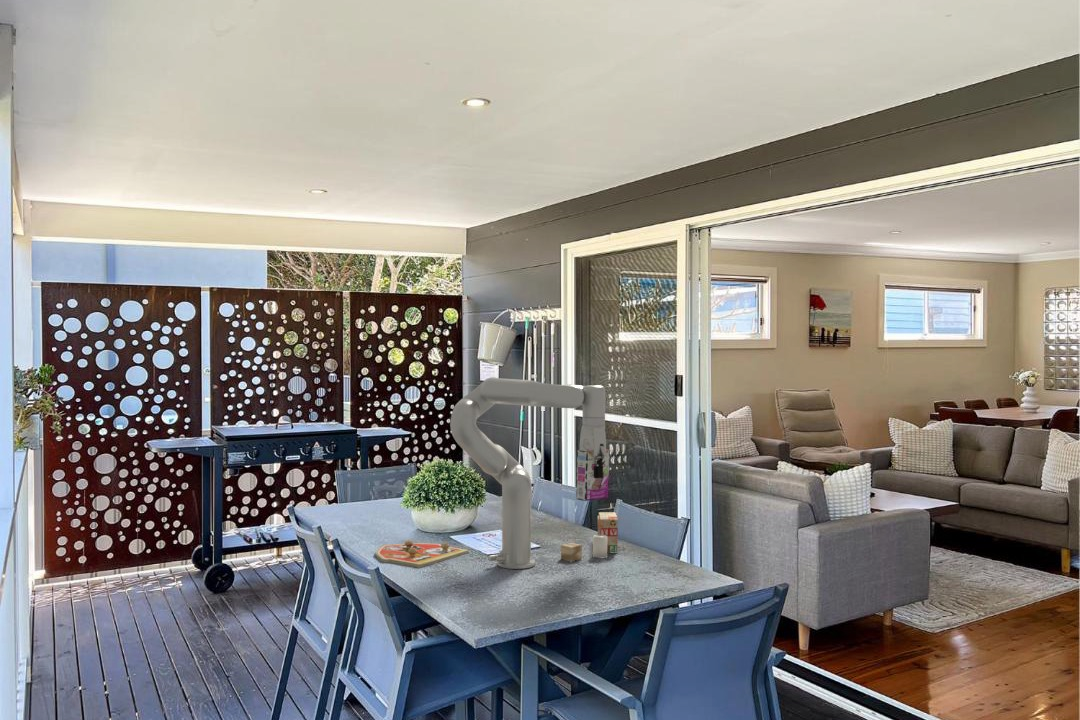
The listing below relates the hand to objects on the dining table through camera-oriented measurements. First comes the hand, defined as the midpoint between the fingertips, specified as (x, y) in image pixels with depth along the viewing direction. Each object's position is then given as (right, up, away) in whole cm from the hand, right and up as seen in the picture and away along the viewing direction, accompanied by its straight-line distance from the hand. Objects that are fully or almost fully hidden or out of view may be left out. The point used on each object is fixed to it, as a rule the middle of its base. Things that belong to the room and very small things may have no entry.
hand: (593, 476), depth 285 cm
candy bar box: (0, -8, 0) cm, 8 cm away
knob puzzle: (-62, -30, +13) cm, 70 cm away
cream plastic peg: (+3, -29, +11) cm, 31 cm away
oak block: (-7, -29, +7) cm, 31 cm away
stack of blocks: (+7, -29, +27) cm, 40 cm away
